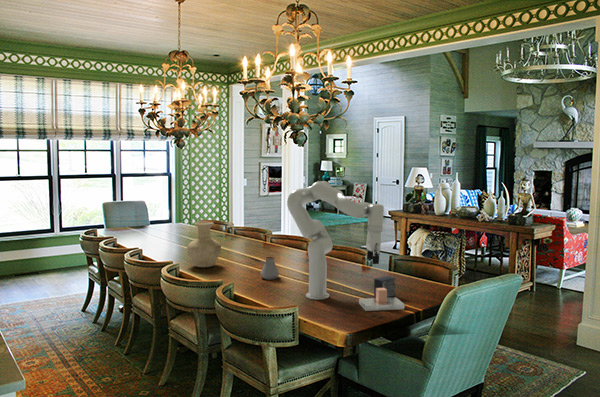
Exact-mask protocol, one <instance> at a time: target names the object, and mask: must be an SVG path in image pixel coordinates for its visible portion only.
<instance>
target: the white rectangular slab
mask: <svg viewBox="0 0 600 397" xmlns="http://www.w3.org/2000/svg"><path fill="white" fill-rule="evenodd" d="M358 304H359V305H360V306H361V307H362V309H363V310H364V311H366V312H370V311H371V312H372V311H373V312H374V311H393V310H394V311H396V310H405V303H404V302H402V301H401V300H400V299H399V298H397V297H396V296H394V297H391V298H387V303H382V304H377V303H376V298H375V297H373V298H372V297H371V298H359V299H358Z"/></svg>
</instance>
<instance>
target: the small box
mask: <svg viewBox="0 0 600 397" xmlns="http://www.w3.org/2000/svg"><path fill="white" fill-rule="evenodd" d="M373 283H374V284H373V287H374V288H373V298H376V288H385V289H386V290H387V298H393V297H396V277H393V276H389V275H385V276H380V277H377V278H374V279H373Z"/></svg>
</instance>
